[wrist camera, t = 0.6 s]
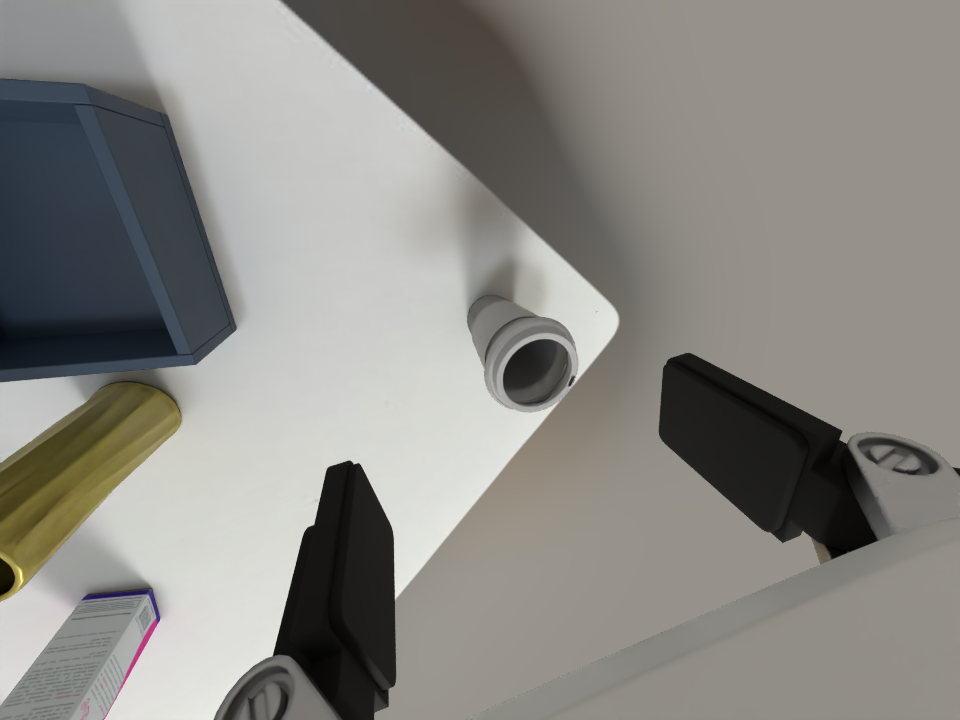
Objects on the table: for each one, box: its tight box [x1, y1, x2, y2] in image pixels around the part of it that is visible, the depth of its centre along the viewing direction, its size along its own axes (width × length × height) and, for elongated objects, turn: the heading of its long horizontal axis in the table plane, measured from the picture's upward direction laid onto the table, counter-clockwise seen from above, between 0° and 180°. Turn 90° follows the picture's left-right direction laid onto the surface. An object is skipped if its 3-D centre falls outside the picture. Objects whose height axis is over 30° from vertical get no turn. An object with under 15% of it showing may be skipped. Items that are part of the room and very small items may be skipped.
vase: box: [0, 382, 181, 602], centre depth 23 cm, size 6×6×14 cm
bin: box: [0, 79, 237, 382], centre depth 20 cm, size 15×15×7 cm
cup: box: [467, 295, 578, 412], centre depth 28 cm, size 7×7×12 cm
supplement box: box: [0, 589, 160, 720], centre depth 32 cm, size 6×6×12 cm
